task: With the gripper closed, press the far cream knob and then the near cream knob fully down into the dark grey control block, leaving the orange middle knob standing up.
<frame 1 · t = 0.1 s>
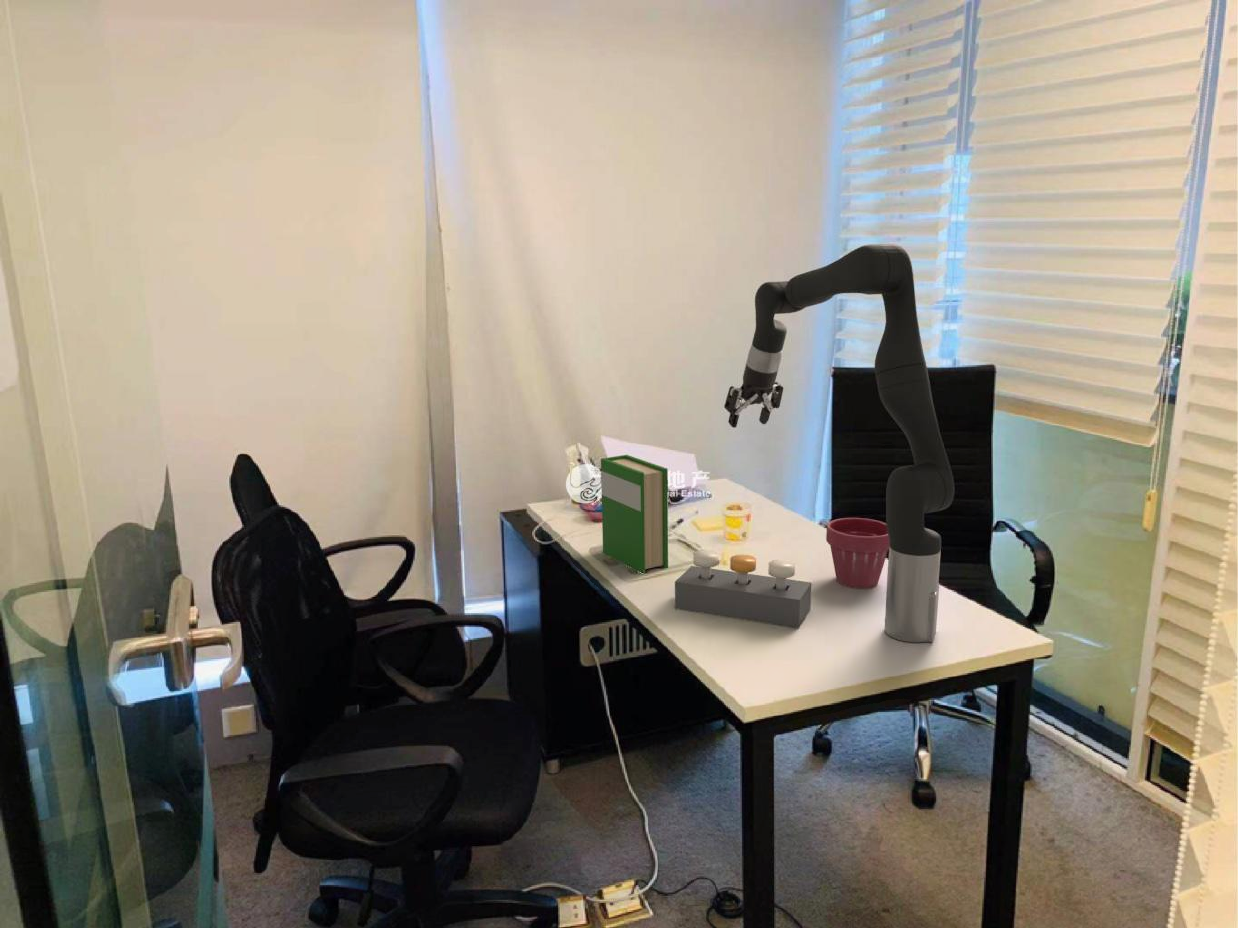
hand: (747, 424, 212), 31 cm above the table, fingers open, 8 cm apart
hardback book: (634, 560, 212), on the table
near knob: (781, 580, 177), point 7 cm above the table, slide at 0.0 cm
control block: (742, 609, 182), on the table
plant pot: (857, 581, 196), on the table
far knob: (705, 570, 183), point 8 cm above the table, slide at 0.0 cm
middle knob: (742, 575, 180), point 7 cm above the table, slide at 0.0 cm
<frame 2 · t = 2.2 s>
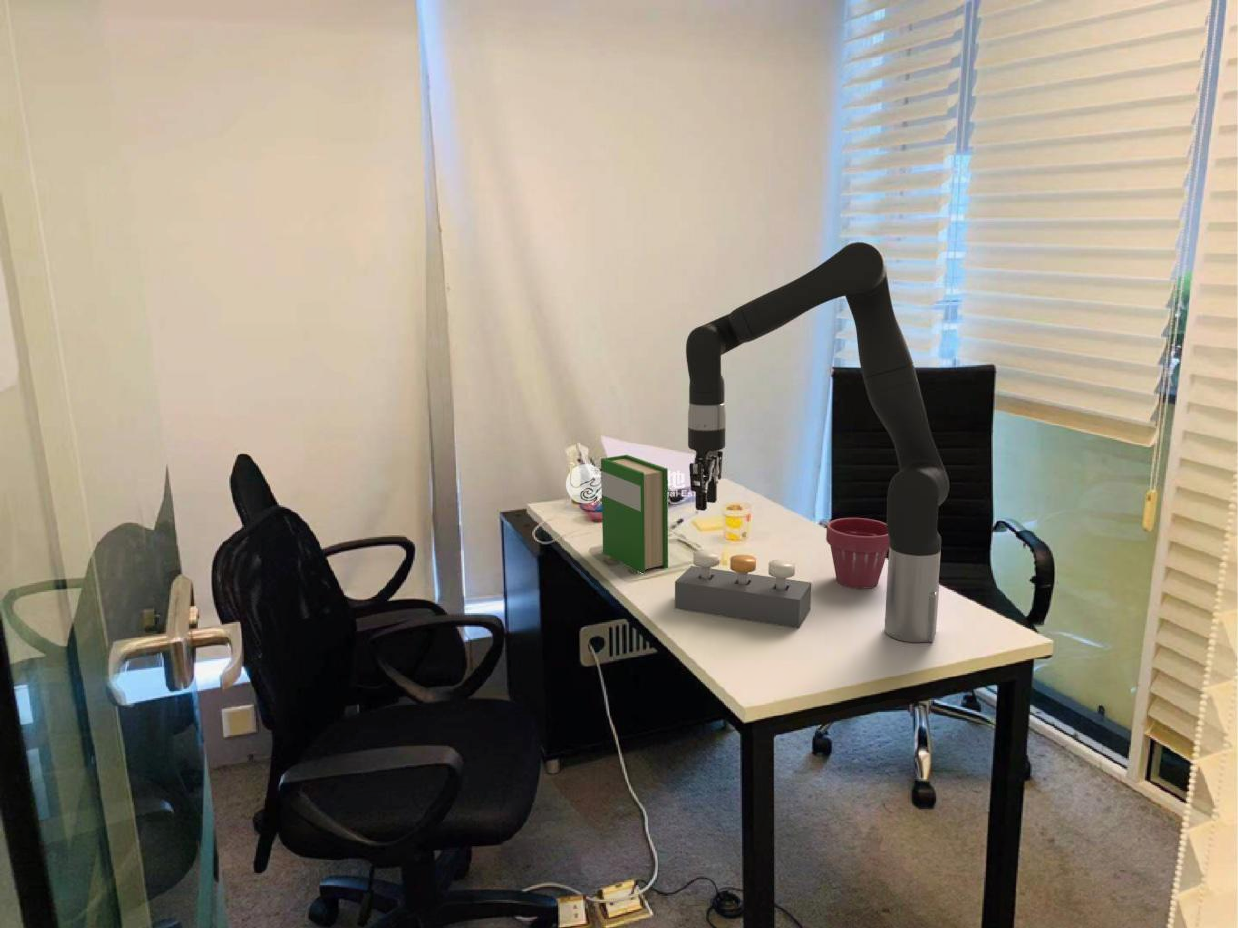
hand: (706, 505, 180), 21 cm above the table, fingers open, 5 cm apart
nothing on the table moved.
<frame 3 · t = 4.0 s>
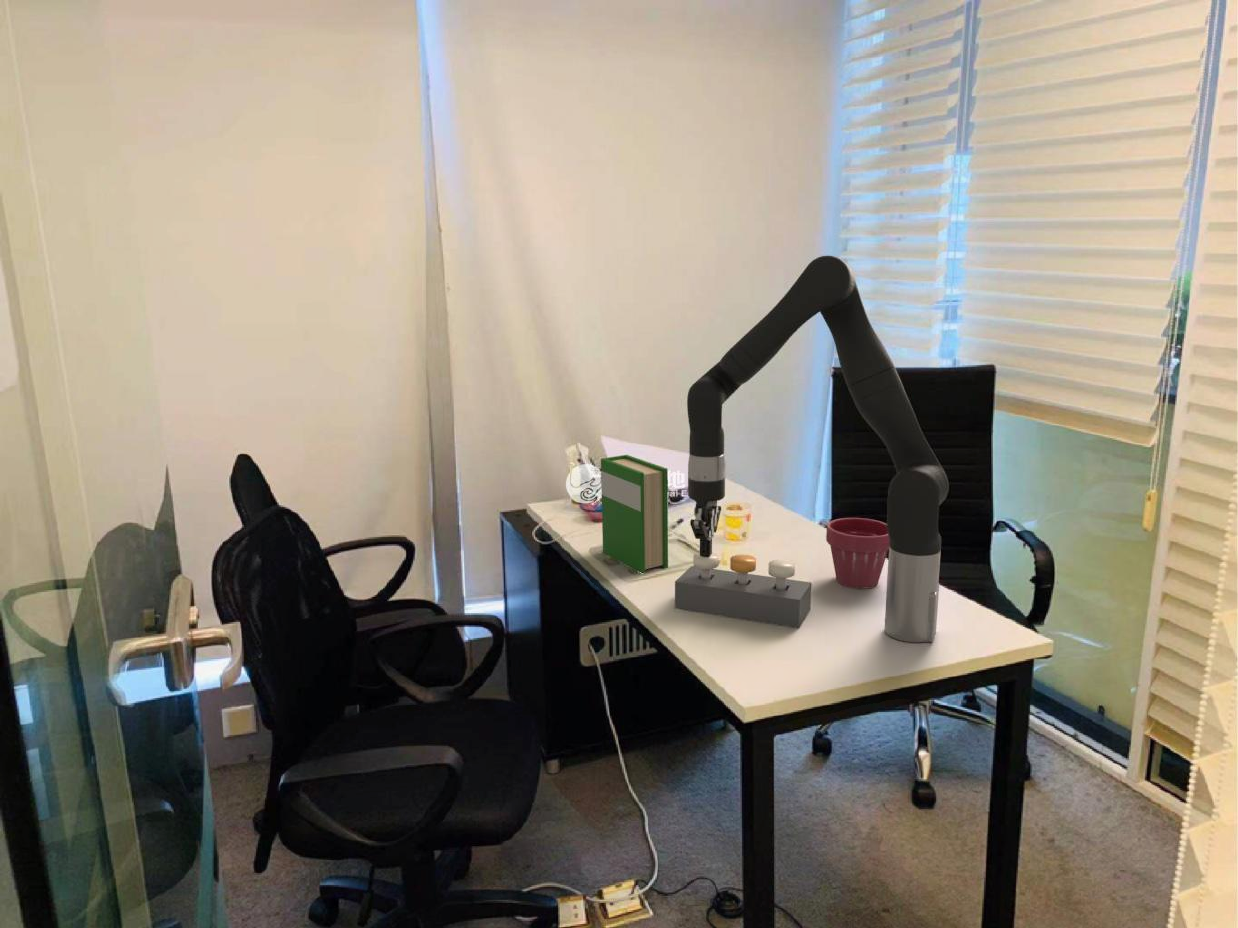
hand: (705, 555, 183), 11 cm above the table, fingers closed
far knob: (705, 571, 183), point 7 cm above the table, slide at 0.4 cm, touching gripper
everything else where it was.
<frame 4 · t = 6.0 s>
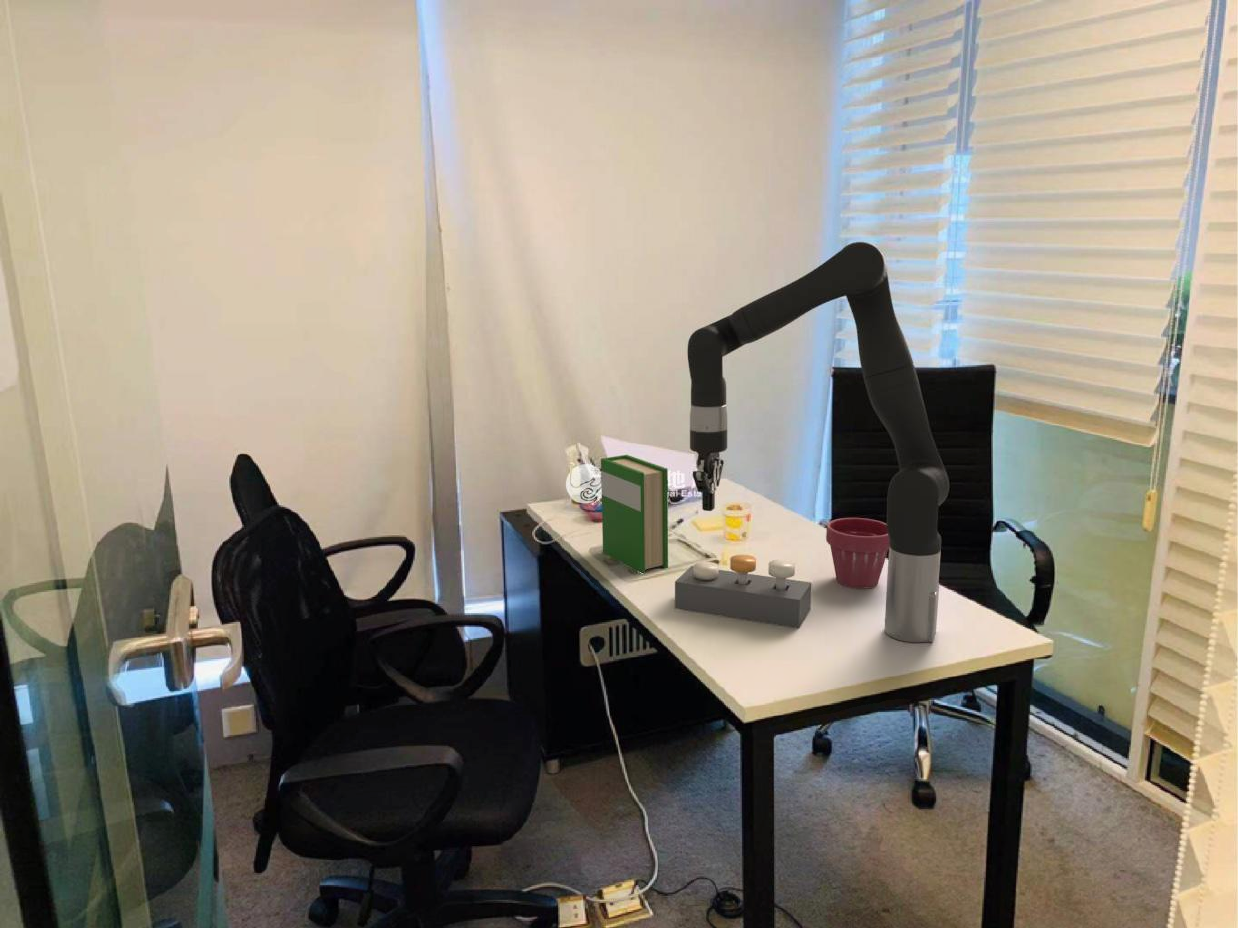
hand: (708, 509, 180), 21 cm above the table, fingers closed
far knob: (705, 581, 184), point 5 cm above the table, slide at 2.7 cm
everything else where it was.
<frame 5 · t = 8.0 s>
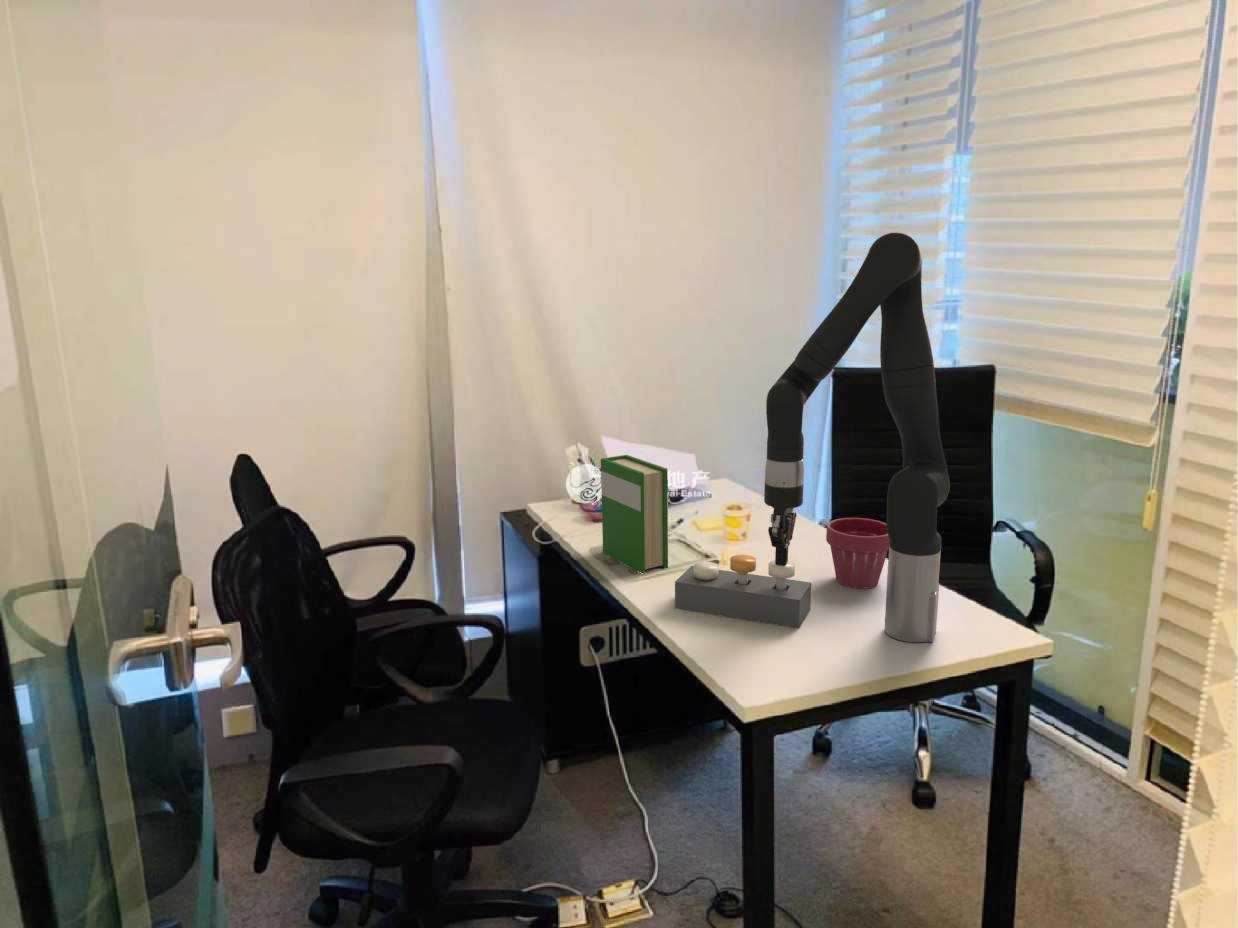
hand: (781, 564, 176), 11 cm above the table, fingers closed
near knob: (781, 580, 177), point 7 cm above the table, slide at 0.1 cm, touching gripper
everything else where it was.
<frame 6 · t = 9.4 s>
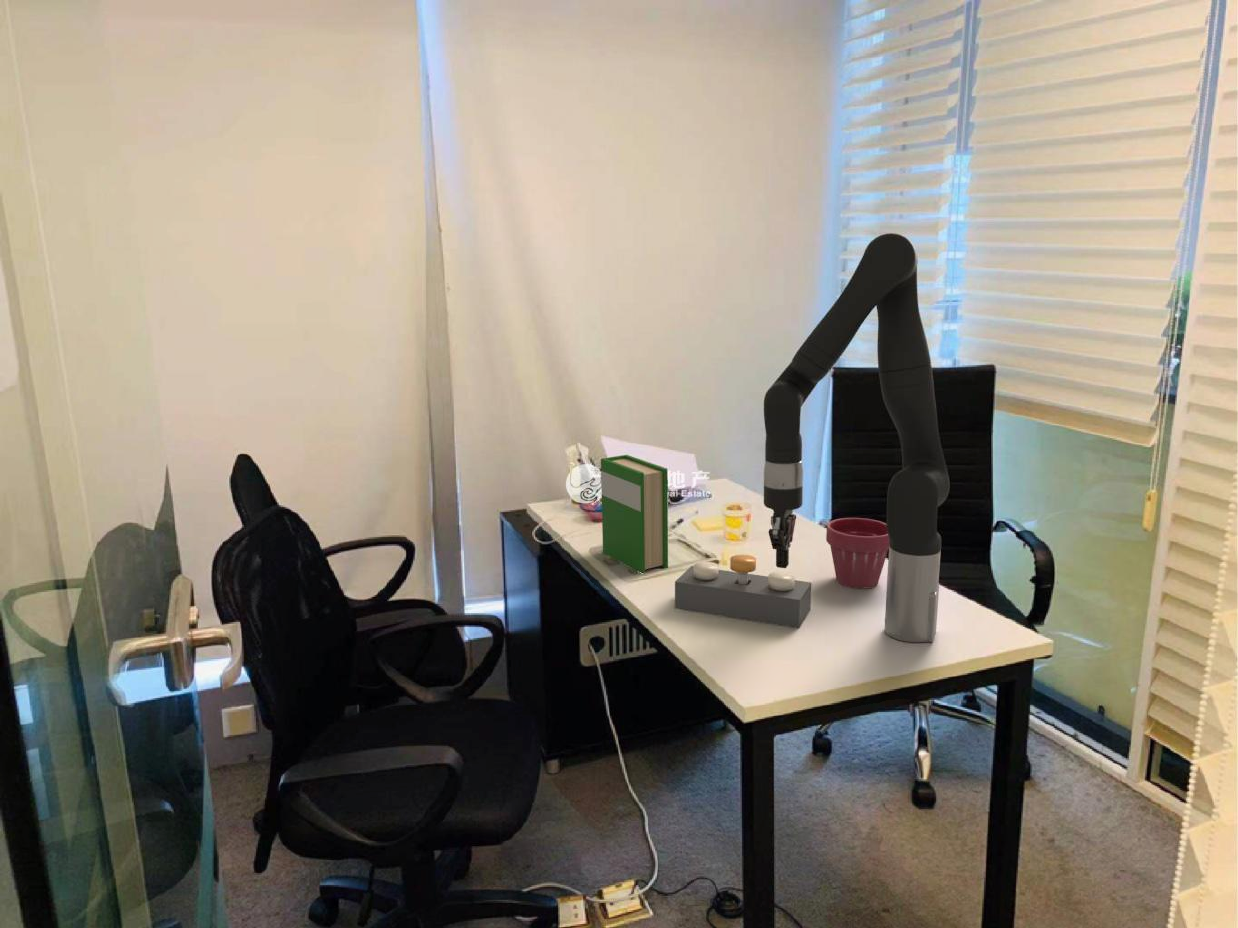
hand: (782, 566, 176), 11 cm above the table, fingers closed
near knob: (780, 592, 177), point 5 cm above the table, slide at 2.6 cm
everything else where it was.
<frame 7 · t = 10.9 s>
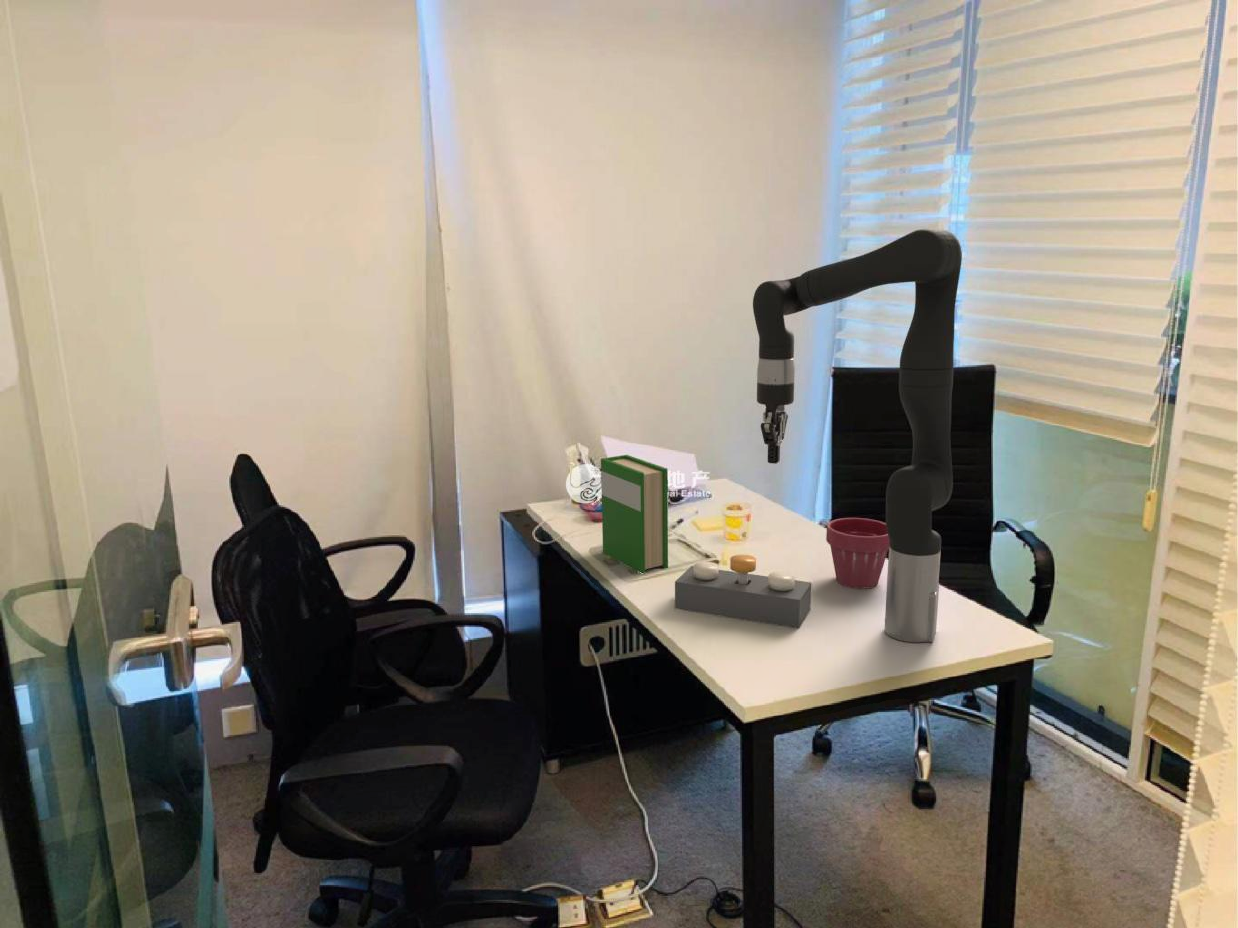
hand: (773, 462, 183), 29 cm above the table, fingers closed
nothing on the table moved.
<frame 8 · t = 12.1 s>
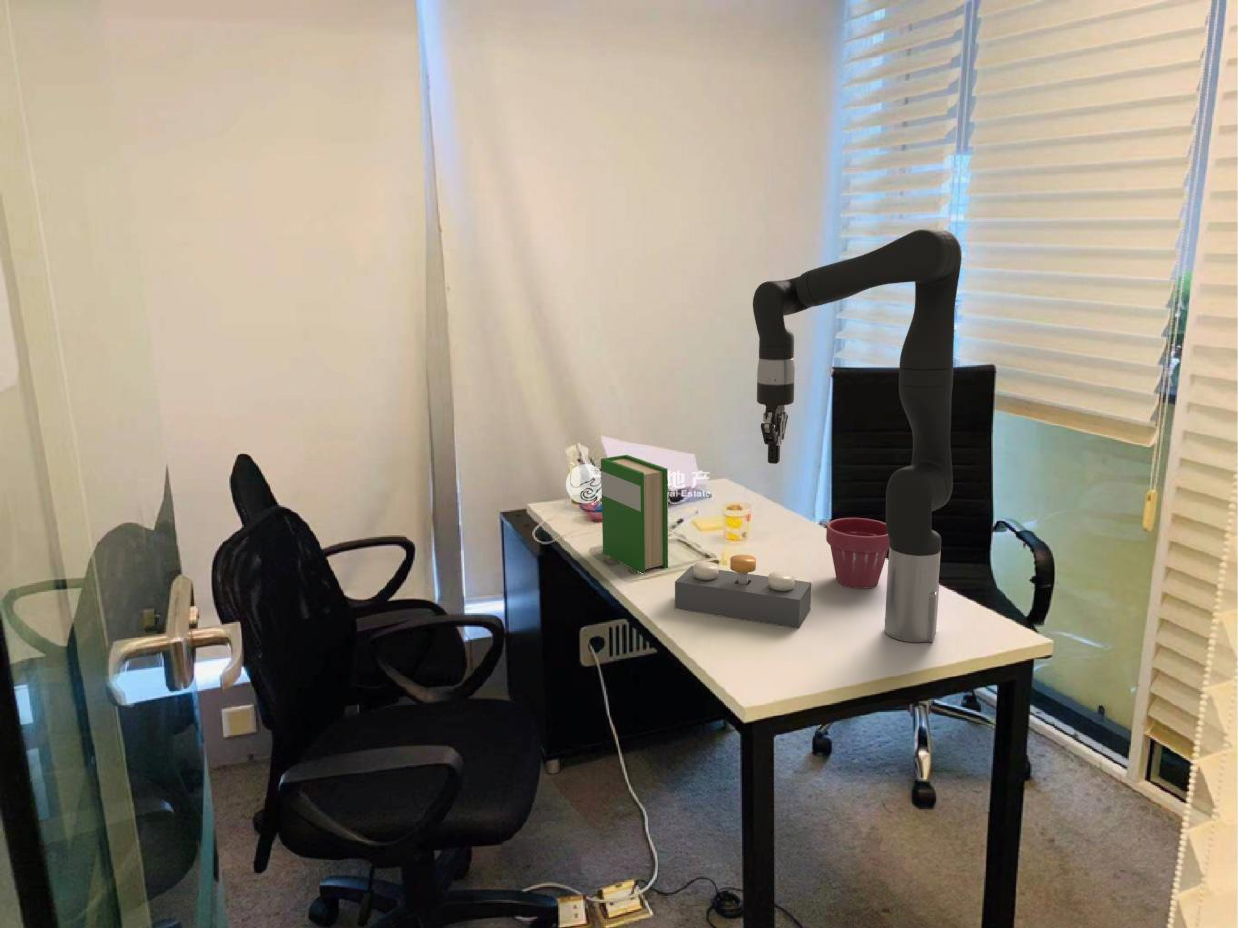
hand: (773, 462, 183), 29 cm above the table, fingers closed
nothing on the table moved.
at the end: far knob slide at 2.7 cm; near knob slide at 2.6 cm; middle knob slide at 0.0 cm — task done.
